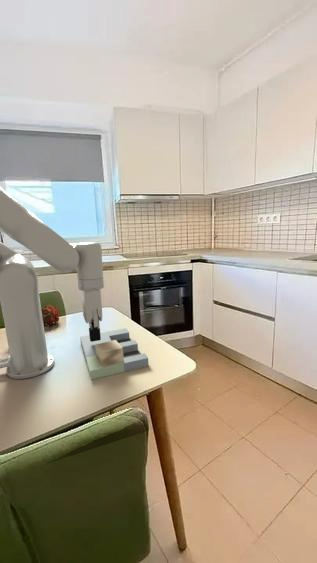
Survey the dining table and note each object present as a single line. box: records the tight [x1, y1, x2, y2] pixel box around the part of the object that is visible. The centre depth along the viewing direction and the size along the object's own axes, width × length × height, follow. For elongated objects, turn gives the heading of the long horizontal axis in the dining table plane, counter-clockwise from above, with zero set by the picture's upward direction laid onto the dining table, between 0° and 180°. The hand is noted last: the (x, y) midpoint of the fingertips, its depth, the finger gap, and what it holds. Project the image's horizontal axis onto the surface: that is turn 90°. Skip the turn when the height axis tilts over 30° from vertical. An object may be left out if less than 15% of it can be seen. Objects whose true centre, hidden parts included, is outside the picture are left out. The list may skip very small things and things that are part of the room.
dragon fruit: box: [41, 304, 60, 326], centre depth 114 cm, size 8×8×12 cm
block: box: [95, 340, 124, 367], centre depth 77 cm, size 6×6×4 cm
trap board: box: [79, 327, 149, 380], centre depth 86 cm, size 16×24×2 cm, turn 21°
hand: (95, 339), depth 87 cm, fingers closed
